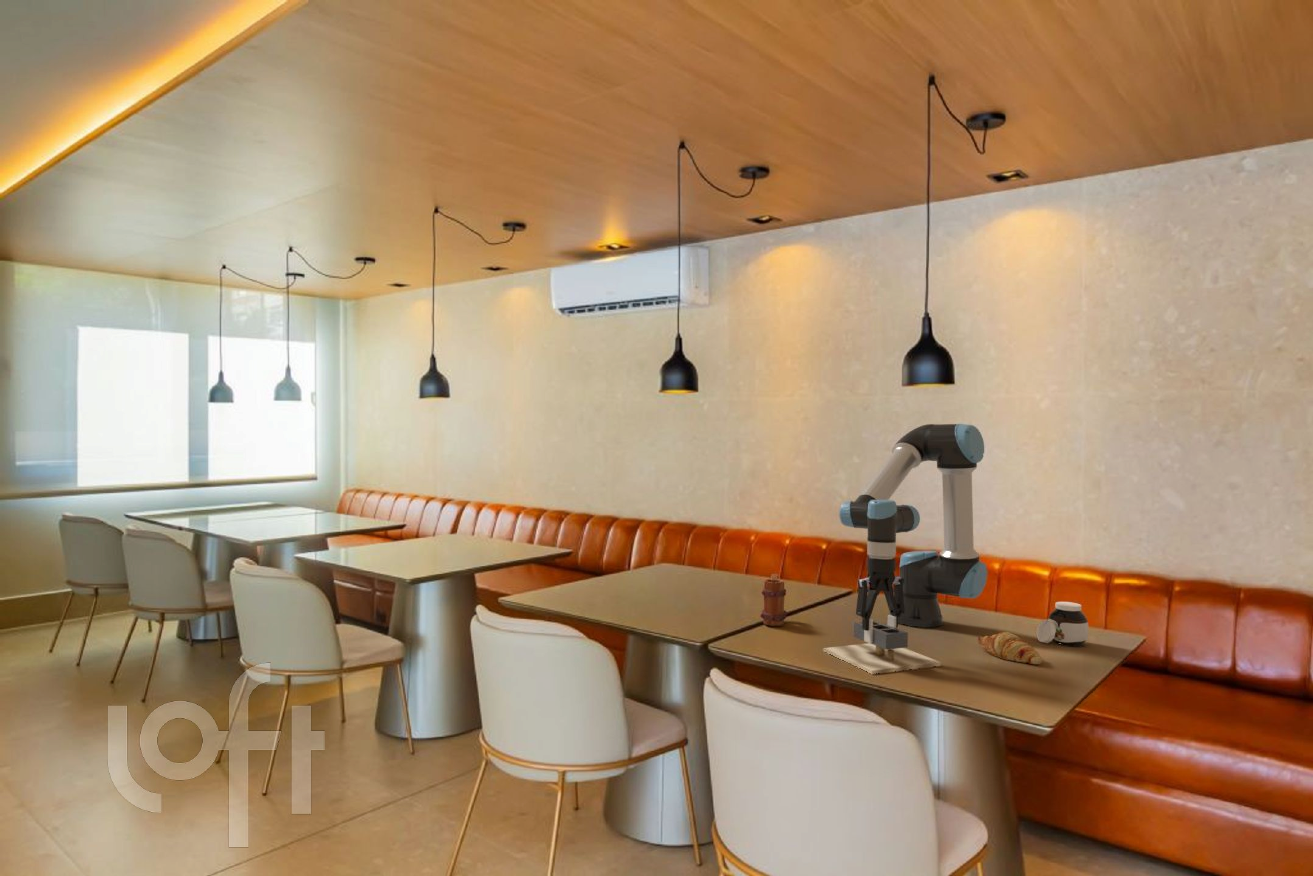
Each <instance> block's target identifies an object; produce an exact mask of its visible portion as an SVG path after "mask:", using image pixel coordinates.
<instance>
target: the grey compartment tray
mask: <svg viewBox="0 0 1313 876" xmlns="http://www.w3.org/2000/svg"><path fill="white" fill-rule="evenodd" d="M908 634H909V632H908V631H905V630H902V629H900V628H898V627H897V628H894V627H891V626H889V625H888V624H885V623H883V622H880V621H877V620H873V640H872V643H871V644H873V645H876V646H878V647H881V648H883V649H886V650H887V649H897V648H906V649H907V648H908V647H909V646H908V645H909V644H908V643H909V642H908V641H909V638H908V637H909V635H908ZM853 637H854V638H856V639H859V640H862V641H863V642H865V641H864V630H863V628H862V621H855V622H854V623H853Z"/></svg>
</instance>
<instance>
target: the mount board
mask: <svg viewBox="0 0 1313 876" xmlns="http://www.w3.org/2000/svg"><path fill="white" fill-rule="evenodd" d="M823 651H824V652H827V653H828V654H827V653H826V654H827V655H829V654H831V655H833V656H835V657H837V658H839V659H841V660H840V661H842V660H844V661H846V662H848V663H851V664H852V665H854V666H857V667H858V668H857V667H856V668H857V669H859V668H861V669H863V670H865V671H867V672H868V673H867V672H866V673H867V674H869V673H871V674H870V675H879V674H878V673H880V674H886V673H888V674H889V673H895V671H896V672H901V671H902V672H903V670H904V671H910V670H909V669H912V670H920V669H926V668H934V667H933V666H936V667H941V661H939V660H936V659H934V658H931V657H929V656H926V655H925V654H924V655H923V654H921V653H918V652H916V651H914V650H911V649H908V648H907V647H906V648H897V649H887V650H886V649H883V648H881V647H878V646H876V645H873V644H871V643H868V642H866V643H859V644H850V645H849V644H848V645H841V646H832V647H824V648H823V647H822V652H823ZM824 652H823V653H824ZM831 655H830V656H831ZM833 656H832V657H833ZM835 657H834V658H835ZM837 658H836V659H837ZM839 659H838V660H839ZM844 661H843V662H844ZM846 662H845V663H846ZM848 663H847V664H848ZM852 665H851V666H852ZM854 666H853V667H854ZM919 668H920V669H919ZM861 669H860V670H861ZM863 670H862V671H863ZM865 671H864V672H865ZM876 673H877V674H876Z"/></svg>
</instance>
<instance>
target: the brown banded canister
mask: <svg viewBox="0 0 1313 876" xmlns="http://www.w3.org/2000/svg"><path fill="white" fill-rule="evenodd" d="M770 577H771V578H770V579H769V578H768V579H765V580H764V581H763V582H764V583H763V584H764V585H763V588H762V590H761V595H762V596H763V609H762V610H761V614H760V618H761V619H763V624H764V625H766V626H768V627H780V626H783V625H784V624H785V620H786V618H787V613H788V612H787V611H786V610H785V596H786V595H787V593H786V592H787V590H786V588H785V582H784V580H783V579H779V578H780V577H779V574H777V573H772V574H771V576H770Z"/></svg>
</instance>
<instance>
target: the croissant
mask: <svg viewBox="0 0 1313 876" xmlns="http://www.w3.org/2000/svg"><path fill="white" fill-rule="evenodd" d="M977 642H978V643H977V644H979V645H980V646H981V648H982V649H983V651H985V652H986V653H988V654H989V655H992V656H993V655H994V656H993V657H996V656H997V658H1000V659H1001V660H1006V661H1011V662H1017V663H1024V664H1026V663H1028V664H1029V665H1040V664H1042V662H1043V658H1042V655H1040V653H1039V652H1038V651H1037V650H1035V647H1033V646H1032V644H1031V643H1030V642H1027V641H1023V640H1022V639H1021V638H1020V637H1019V636H1018V635H1016V634H1014V633H1012V632H1008V631H1005V630H1004V631H1001V632H999V633H994V634H992V635H990V636H989V635H984V636H978V637H977Z"/></svg>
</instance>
